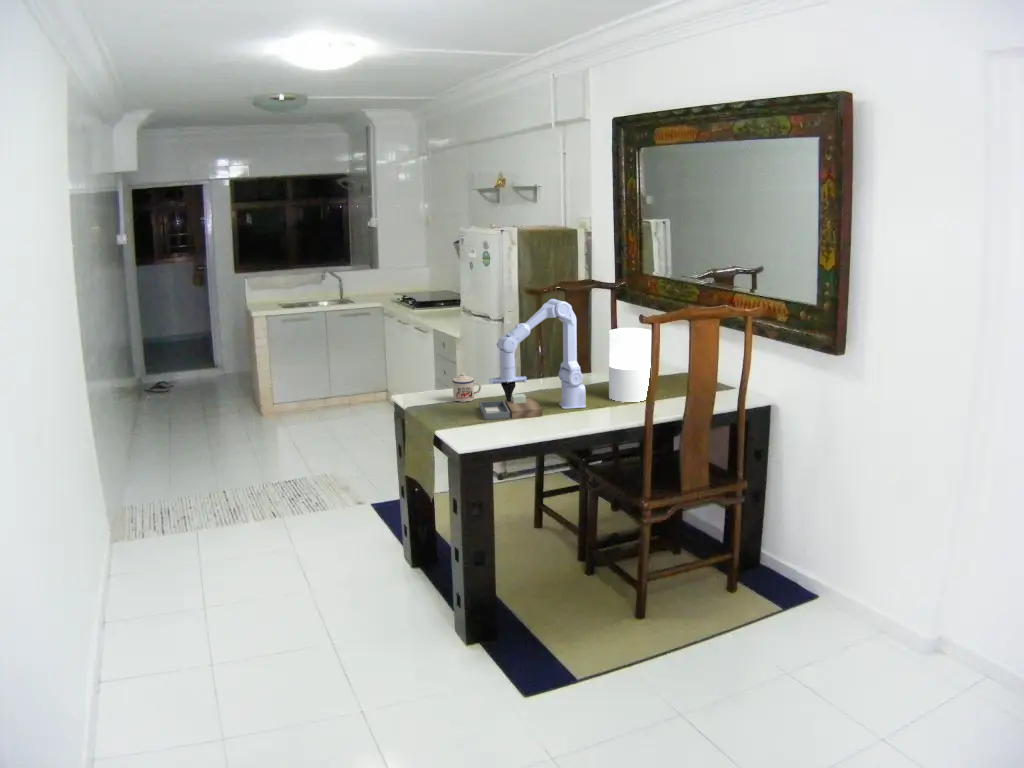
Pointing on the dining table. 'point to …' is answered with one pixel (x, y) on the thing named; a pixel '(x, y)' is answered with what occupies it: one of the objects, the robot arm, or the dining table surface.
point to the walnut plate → (524, 408)
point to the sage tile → (518, 398)
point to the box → (502, 414)
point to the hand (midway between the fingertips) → (508, 401)
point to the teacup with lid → (464, 388)
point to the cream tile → (492, 410)
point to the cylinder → (629, 364)
